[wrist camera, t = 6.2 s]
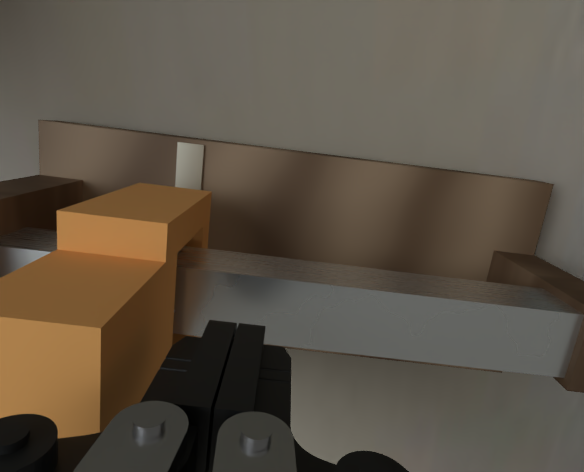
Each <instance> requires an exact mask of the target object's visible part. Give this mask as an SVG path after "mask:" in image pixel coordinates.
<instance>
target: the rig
mask: <svg viewBox="0 0 584 472" xmlns="http://www.w3.org/2000/svg"><path fill="white" fill-rule="evenodd" d="M38 125H39V163H40V175H36V176H30V177H24V178H18V179H13V180H7V181H1V182H0V237H1V236H3V235H6V234H9V233H12V232H15V231H17V230H20V229H23V228H26V227H29V228H38V229H46V230H55V231H57V210H60V209H63V208H66V207H69V206H72V205H75V204H77V203H80V202H83V201H86V200H89V199H92V198H95V197H98V196H101V195H104V194H107V193H110V192H113V191H116V190H119V189H122V188H125V187H128V186H131V185H134V184H137V183H146V184H154V185H163V186H171V187H179V188H187V189H195V190H204V191H212V195H211V209H210V222H209V235H208V249H214V250H223V251H231V252H240V253H248V254H257V255H265V256H273V257H282V258H290V259H299V260H307V261H315V262H324V263H332V264H341V265H349V266H357V267H366V268H374V269H383V270H391V271H400V272H408V273H416V274H425V275H433V276H442V277H450V278H458V279H467V280H475V281H484V282H492V283H501V284H509V285H517V286H526V287H534V288H543V289H545V290H546V291H548V292H549V293H551V294H552V295H554V296H556V297H557V298H559V299H560V300H562V301H563V302H565V303H566V304H568V305H570V306H571V307H573V308H574V309H576V310H577V311H579V312H581V313H582V314H584V281H582V280H580V279H578V278H576V277H575V276H573V275H571V274H569V273H567V272H565V271H563V270H561V269H559V268H557V267H555V266H554V265H552V264H550V263H548V262H546V261H544V260H542V259H540V258H538V257H536V256H534V254H535V250H536V247H537V243H538V239H539V236H540V232H541V228H542V225H543V221H544V218H545V214H546V210H547V207H548V203H549V199H550V196H551V192H552V189H553V185H554V184H550V183H545V182H540V181H535V180H527V179H519V178H511V177H503V176H495V175H487V174H479V173H471V172H463V171H455V170H447V169H439V168H431V167H423V166H415V165H407V164H399V163H391V162H383V161H375V160H367V159H359V158H351V157H343V156H335V155H327V154H319V153H311V152H303V151H295V150H287V149H279V148H271V147H263V146H254V145H246V144H238V143H230V142H222V141H214V140H206V139H198V138H190V137H182V136H174V135H166V134H158V133H150V132H142V131H134V130H126V129H118V128H110V127H102V126H94V125H86V124H78V123H70V122H62V121H50V120H38ZM197 337H200V336H197ZM200 338H201V337H200ZM264 345H270V344H264ZM272 346H279V345H272ZM280 347H284V348H290V349H299V350H308V351H317V352H325V353H334V354H343V355H352V356H361V357H369V358H378V359H387V360H396V361H405V362H413V363H422V364H431V365H440V366H448V367H457V368H466V369H475V370H484V371H492V372H501V373H502V371H498V370H489V369H481V368H472V367H463V366H454V365H446V364H437V363H428V362H419V361H411V360H402V359H393V358H384V357H375V356H367V355H358V354H349V353H340V352H332V351H323V350H314V349H305V348H296V347H288V346H280ZM553 378H554V379H556V380H557V381H558V382H559V383H560V384H561V385H562V386H563V387H564V388H565V389H566V390H567V391H574V392H583V393H584V318H583V321H582V324H581V327H580V330H579V333H578V337H577V340H576V343H575V346H574V349H573V352H572V355H571V358H570V362H569V365H568V368H567V371H566V374H565V377H564V378H560V377H553Z"/></svg>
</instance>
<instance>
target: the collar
mask: <svg viewBox="0 0 584 472" xmlns="http://www.w3.org/2000/svg"><path fill="white" fill-rule="evenodd" d="M211 195H212V191H204V190H195V189H187V188H179V187H171V186H163V185H154V184H146V183H137V184H134V185H131V186H128V187H125V188H122V189H119V190H116V191H113V192H110V193H107V194H104V195H101V196H98V197H95V198H92V199H89V200H86V201H83V202H80V203H77V204H75V205H72V206H69V207H66V208H63V209H60V210H57V250H55V251H53V252H51V253H49V254H47V255H45V256H43V257H41V258H39V259H37V260H35V261H33V262H31V263H29V264H27V265H25V266H23V267H21V268H19V269H17V270H15V271H13V272H11V273H9V274H7V275H5V276H3V277H1V278H0V418H3V417H7V416H11V415H17V414H38V415H42V416H45V417H47V418H49V419H51V420H52V421H53V422H54V423H55V424H56V426H57V429H58V438H66V437H74V436H82V435H89V434H95V433H99V432H103V431H104V429H105V428H106V427H107V425H108V424H109V423H110V421H111V420H112V419H113V418H114V417H115V416H116V415H117V414H118V413H119V412H120V411H122V410H123V409H125V408H127V407H129V406H131V405H134V404H137V403H140V402H141V400H142V398H143V396H144V395H145V393H146V391H147V389H148V388H149V386H150V384H151V382H152V380H153V379H154V377H155V375H156V373H157V372H158V370H160V366H161V365H162V363H163V361H164V359H166V356H167V354H168V352H169V350H170V349H171V347H172V345H173V344H175V343H176V342H178V341H179V340H181V339H182V338H184V337H185V336H191V335H182V334H174V333H173V321H174V303H175V286H176V268H177V253H178V252H179V251H180V250H181V249H182V248H183V247H184V246H185V245H186V246H189V247H198V248H206V249H208V235H209V222H210V209H211ZM191 337H197V336H191Z"/></svg>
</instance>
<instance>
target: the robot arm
mask: <svg viewBox="0 0 584 472" xmlns="http://www.w3.org/2000/svg"><path fill="white" fill-rule="evenodd" d="M265 329H266V326H261V325H252V324H244V323H239V324H238V327H237V323H234V322H225V321H217V320H209V321H208V324H207V326H206V328H205V330H204V333H203V335H202V337H201V338H200V337H191V336H185V337H184V338H182V339H181V340H179V341H178V342H176V343H175V344H173V345H172V347H171V349H170V350H169V352H168V354H167V356H166V359H164V361H163V363H162V365H161V366H160V370H158V372H157V373H156V375H155V377H154V379H153V380H152V382H151V384H150V386H149V388H148V389H147V391H146V393H145V395H144V396H143V398H142V400H141V402H140V403H137V404H134V405H131V406H129V407H127V408H125V409H123V410H122V411H120V412H119V413H118V414H117V415H116V416H115V417H114V418H113V419H112V420H111V421H110V423H109V424H108V425H107V427H106V428H105V429H104V431H103V432H99V433H95V434H89V435H82V436H74V437H66V438H58V429H57V426H56V424H55V423H54V422H53V421H52V420H51V419H49V418H47V417H45V416H42V415H38V414H17V415H11V416H7V417H3V418H0V472H409V471H407V470H406V469H405V468H404V467H403V466H401V465H400V464H399V463H397V462H396V461H395V460H393V459H391V458H389V457H387V456H385V455H383V454H379V453H376V452H371V451H356V452H351V453H349V454H347V455H345V456H344V457H342V458H341V459H340V460H339V461H338V463H337V465H335V464H332V463H329V462H327V461H324V460H322V459H319V458H317V457H315V456H313V455H311V454H310V453H308V452H307V451H305V450H304V449H303V448H302V447H301V446H300V445H299V444H298V443H297V442H296V440H295V439H294V437H293V434H292V432H291V427H290V411H291V357H290V356H289V354H288V353H287V352H286V350H285V349H284V347H280V346H272V345H264V337H265Z"/></svg>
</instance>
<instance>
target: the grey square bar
mask: <svg viewBox="0 0 584 472" xmlns="http://www.w3.org/2000/svg"><path fill="white" fill-rule="evenodd" d="M55 250H57V231H55V230H46V229H38V228H29V227H26V228H23V229H20V230H17V231H15V232H12V233H9V234H6V235H3V236H1V237H0V278H1V277H3V276H5V275H7V274H9V273H11V272H13V271H15V270H17V269H19V268H21V267H23V266H25V265H27V264H29V263H31V262H33V261H35V260H37V259H39V258H41V257H43V256H45V255H47V254H49V253H51V252H53V251H55ZM583 318H584V314H582V313H581V312H579V311H577V310H576V309H574V308H573V307H571V306H570V305H568V304H566V303H565V302H563V301H562V300H560V299H559V298H557V297H556V296H554V295H552V294H551V293H549V292H548V291H546V290H545V289H543V288H534V287H526V286H517V285H509V284H501V283H492V282H484V281H475V280H467V279H458V278H450V277H442V276H433V275H425V274H416V273H408V272H400V271H391V270H383V269H374V268H366V267H357V266H349V265H341V264H332V263H324V262H315V261H307V260H299V259H290V258H282V257H273V256H265V255H257V254H248V253H240V252H231V251H223V250H214V249H206V248H198V247H189V246H186V245H185V246H184V247H183V248H182V249H181V250H180V251H179V252H178V253H177V268H176V286H175V303H174V321H173V333H174V334H182V335H191V336H200V337H202V335H203V333H204V330H205V328H206V326H207V324H208V321H209V320H217V321H225V322H234V323H237V327H238V324H239V323H244V324H252V325H261V326H266V329H265V337H264V344H270V345H279V346H288V347H296V348H305V349H314V350H323V351H332V352H340V353H349V354H358V355H367V356H375V357H384V358H393V359H402V360H411V361H419V362H428V363H437V364H446V365H454V366H463V367H472V368H481V369H489V370H498V371H507V372H516V373H525V374H533V375H542V376H551V377H560V378H564V377H565V374H566V371H567V368H568V365H569V362H570V358H571V355H572V352H573V349H574V346H575V343H576V340H577V337H578V333H579V330H580V327H581V324H582V321H583Z"/></svg>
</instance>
